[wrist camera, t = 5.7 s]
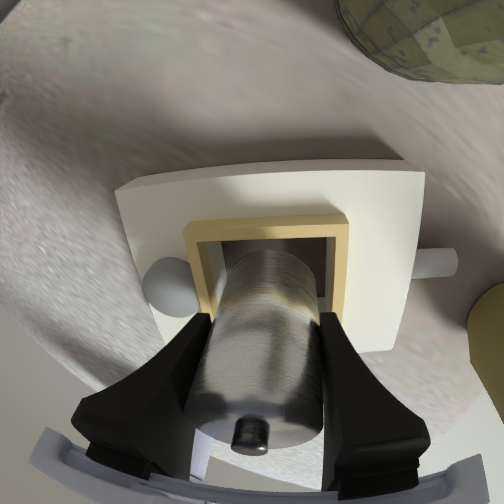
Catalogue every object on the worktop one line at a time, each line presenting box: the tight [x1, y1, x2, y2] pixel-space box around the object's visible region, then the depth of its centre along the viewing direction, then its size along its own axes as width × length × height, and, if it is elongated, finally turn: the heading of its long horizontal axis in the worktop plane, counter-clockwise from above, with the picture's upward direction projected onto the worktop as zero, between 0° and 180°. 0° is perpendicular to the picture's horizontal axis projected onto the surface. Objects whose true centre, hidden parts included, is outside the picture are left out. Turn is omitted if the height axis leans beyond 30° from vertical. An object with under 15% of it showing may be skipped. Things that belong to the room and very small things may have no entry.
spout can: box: [184, 250, 324, 456], centre depth 12 cm, size 5×5×9 cm
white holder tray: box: [114, 159, 458, 353], centre depth 16 cm, size 20×12×4 cm, turn 96°
